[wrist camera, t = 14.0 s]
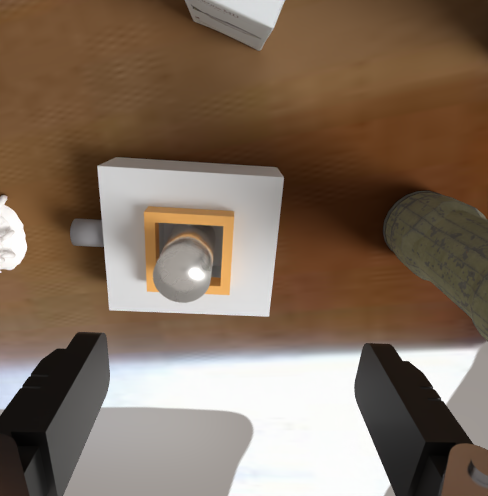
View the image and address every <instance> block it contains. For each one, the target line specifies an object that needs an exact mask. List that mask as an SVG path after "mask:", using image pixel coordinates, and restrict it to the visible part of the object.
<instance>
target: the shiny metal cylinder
mask: <svg viewBox="0 0 488 496" xmlns="http://www.w3.org/2000/svg"><path fill="white" fill-rule="evenodd" d="M215 240H216V236H215V232H214V229H213V227H212V226H211V225H193V224H175V226H174V227H173V229H172V231H171V233H170V236H169V238H168V240H167V242H166V244H165V246H164V248H163V250H162V252H161V254H160V257H159V259H158V261H157V263H156V265H155V267H154V270H153V281H154V284H155V287H156V288H157V290H158V291H159V292H160V293H161V294H162V295H163V296H164V297H166V298H167V299H169V300H171V301H174V302H180V303H187V302H192V301H195V300H197V299H199V298H200V297H202V296H203V295H204V294H205V293H206V291H207V290H208V288H209V285H210V281H211V272H212V264H213V256H214V248H215Z"/></svg>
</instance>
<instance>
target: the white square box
mask: <svg viewBox="0 0 488 496" xmlns="http://www.w3.org/2000/svg"><path fill="white" fill-rule="evenodd" d="M97 168H98V180H99V192H100V204H101V216H102V220H93V219H74V220H73V222H72V224H71V229H70V237H71V241H72V244H73V245H75V246H93V247H104V251H105V263H106V275H107V287H108V299H109V310H119V311H144V312H169V313H193V314H218V315H243V316H268V317H269V311H270V302H271V293H272V283H273V274H274V265H275V256H276V247H277V237H278V228H279V219H280V210H281V201H282V191H283V182H284V177H283V175H282V174H281V172H280V171H279V170H278V168H277V167H265V166H249V165H234V164H218V163H202V162H186V161H170V160H154V159H138V158H123V157H115V158H113V159H111V160H109V161H107V162H105V163H102V164H100V165H98V166H97ZM175 224H193V225H211V226H212V227H213V229H214V232H215V236H216V240H215V248H214V256H213V264H212V272H211V281H210V285H209V288H208V290H207V291H206V293H205V294H204V295H203V296H202V297H200V298H199V299H197V300H195V301H192V302H187V303H180V302H174V301H171V300H169V299H167V298H166V297H164V296H163V295H162V294H161V293H160V292H159V291H158V290H157V288H156V287H155V284H154V281H153V270H154V267H155V265H156V263H157V261H158V259H159V257H160V254H161V252H162V250H163V248H164V246H165V244H166V242H167V240H168V238H169V236H170V233H171V231H172V229H173V227H174V226H175Z"/></svg>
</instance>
